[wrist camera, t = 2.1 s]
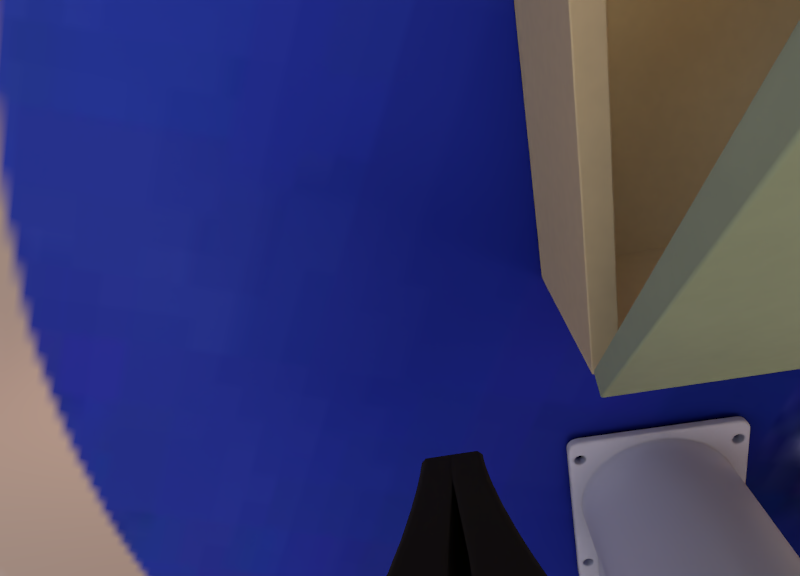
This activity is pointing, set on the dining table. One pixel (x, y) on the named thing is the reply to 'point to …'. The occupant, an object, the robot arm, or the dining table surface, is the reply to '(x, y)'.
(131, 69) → the dining table surface
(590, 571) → the robot arm
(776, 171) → the lid
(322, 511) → the dining table surface
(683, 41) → the wooden box
